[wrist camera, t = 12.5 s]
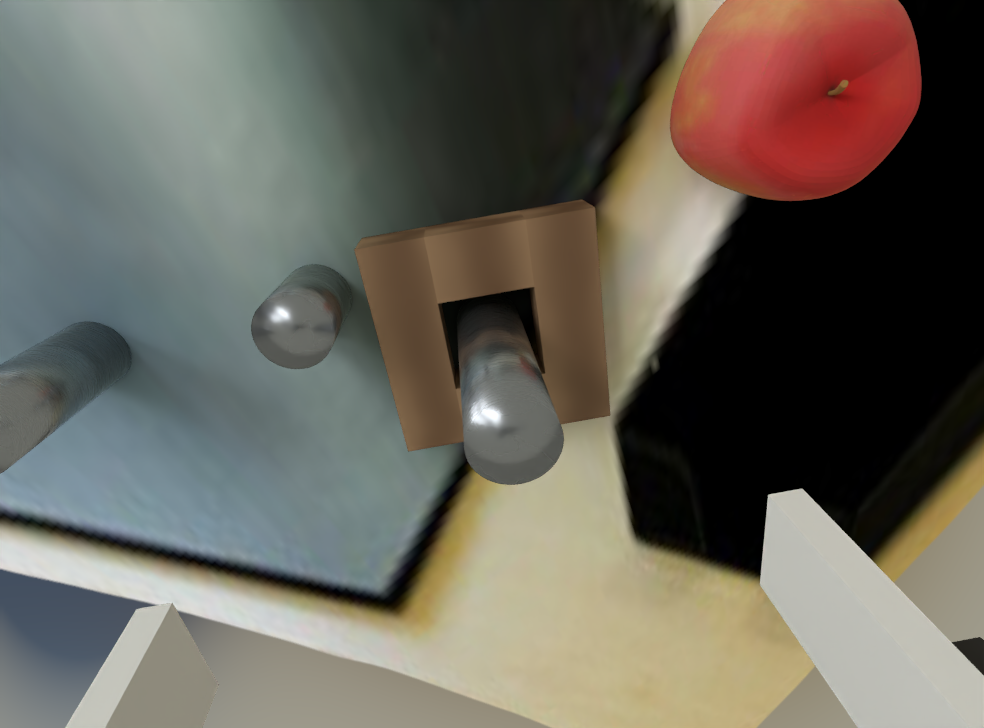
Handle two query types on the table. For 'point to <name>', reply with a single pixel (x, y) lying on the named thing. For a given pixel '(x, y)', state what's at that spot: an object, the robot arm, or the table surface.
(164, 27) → the table surface
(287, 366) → the short pin
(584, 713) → the table surface
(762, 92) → the apple
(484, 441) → the tall pin
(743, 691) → the table surface
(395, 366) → the socket plate
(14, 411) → the medium pin
